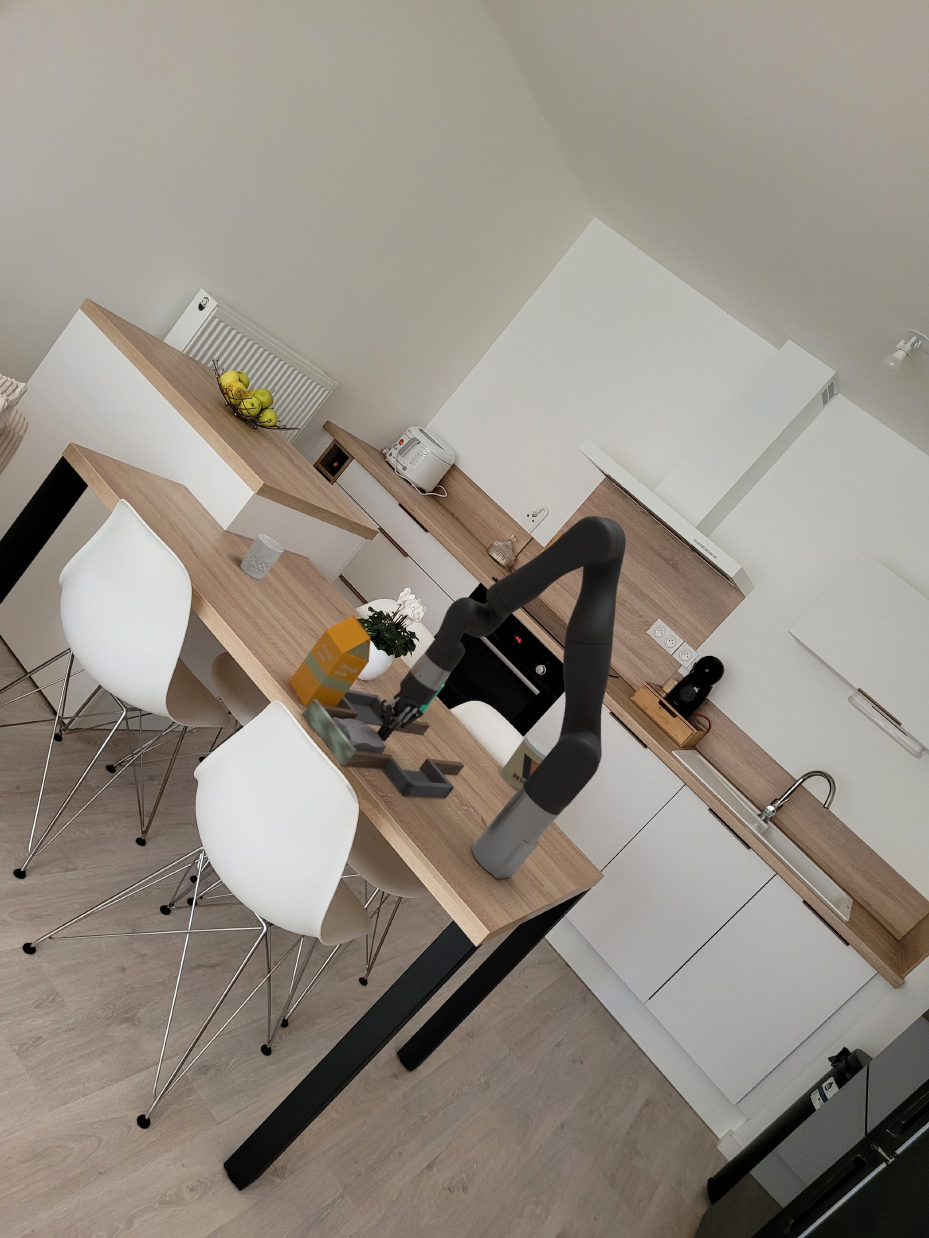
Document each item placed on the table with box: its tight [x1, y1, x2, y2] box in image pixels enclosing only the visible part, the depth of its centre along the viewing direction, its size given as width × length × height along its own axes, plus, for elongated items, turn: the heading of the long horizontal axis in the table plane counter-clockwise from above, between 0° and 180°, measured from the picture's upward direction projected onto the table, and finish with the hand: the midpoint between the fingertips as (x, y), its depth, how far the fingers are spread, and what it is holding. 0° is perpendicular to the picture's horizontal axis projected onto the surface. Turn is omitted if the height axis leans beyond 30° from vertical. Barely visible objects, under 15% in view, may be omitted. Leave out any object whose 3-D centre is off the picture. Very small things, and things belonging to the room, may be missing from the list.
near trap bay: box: [381, 757, 455, 799], centre depth 175 cm, size 8×15×3 cm, turn 137°
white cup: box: [239, 533, 284, 581], centre depth 221 cm, size 8×8×10 cm
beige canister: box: [500, 734, 552, 791], centre depth 214 cm, size 9×9×12 cm
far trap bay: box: [336, 689, 384, 727], centre depth 188 cm, size 8×15×3 cm, turn 137°
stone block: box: [332, 717, 387, 754], centre depth 173 cm, size 12×5×10 cm
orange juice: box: [288, 614, 372, 708], centre depth 176 cm, size 8×9×20 cm
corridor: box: [302, 699, 465, 776], centre depth 181 cm, size 15×41×4 cm, turn 137°
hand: (379, 738), depth 178 cm, fingers closed
